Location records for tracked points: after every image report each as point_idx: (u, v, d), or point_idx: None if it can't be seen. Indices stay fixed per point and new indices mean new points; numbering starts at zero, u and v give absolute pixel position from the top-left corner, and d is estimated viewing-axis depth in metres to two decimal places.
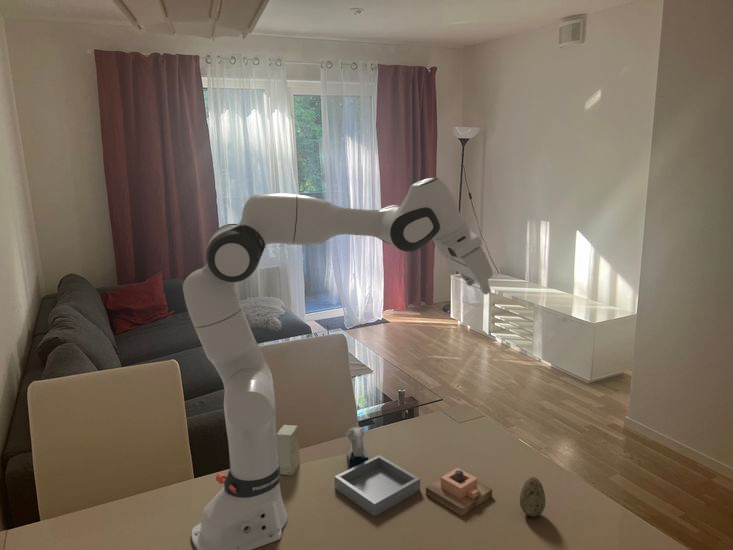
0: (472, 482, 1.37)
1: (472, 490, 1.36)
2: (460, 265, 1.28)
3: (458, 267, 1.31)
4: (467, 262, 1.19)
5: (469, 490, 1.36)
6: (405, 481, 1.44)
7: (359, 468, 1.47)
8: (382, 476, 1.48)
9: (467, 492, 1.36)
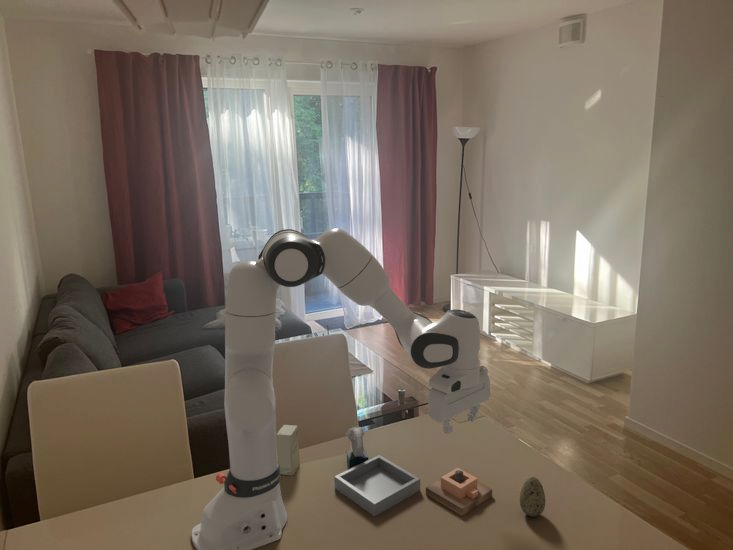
0: (472, 482, 1.37)
1: (472, 490, 1.36)
2: None
3: None
4: (429, 394, 1.29)
5: (469, 490, 1.36)
6: (405, 481, 1.44)
7: (359, 468, 1.47)
8: (382, 476, 1.48)
9: (467, 492, 1.36)
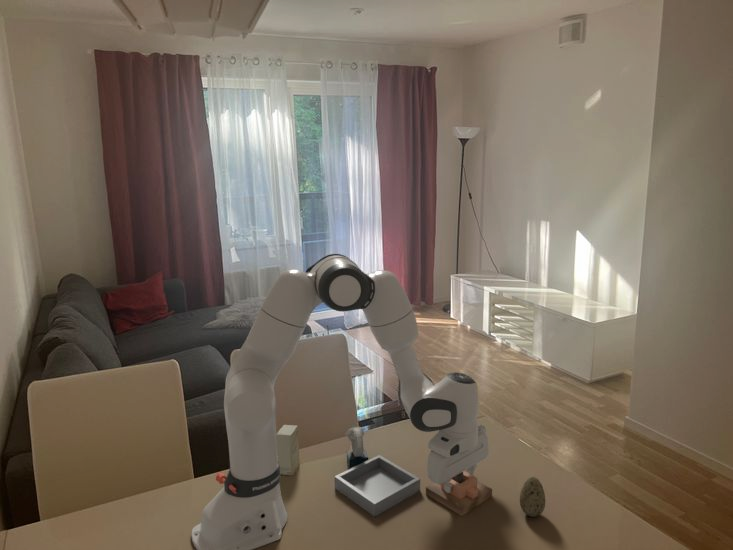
0: (472, 482, 1.37)
1: (472, 490, 1.36)
2: None
3: None
4: (428, 456, 1.33)
5: (469, 490, 1.36)
6: (405, 481, 1.44)
7: (359, 468, 1.47)
8: (382, 476, 1.48)
9: (467, 492, 1.36)
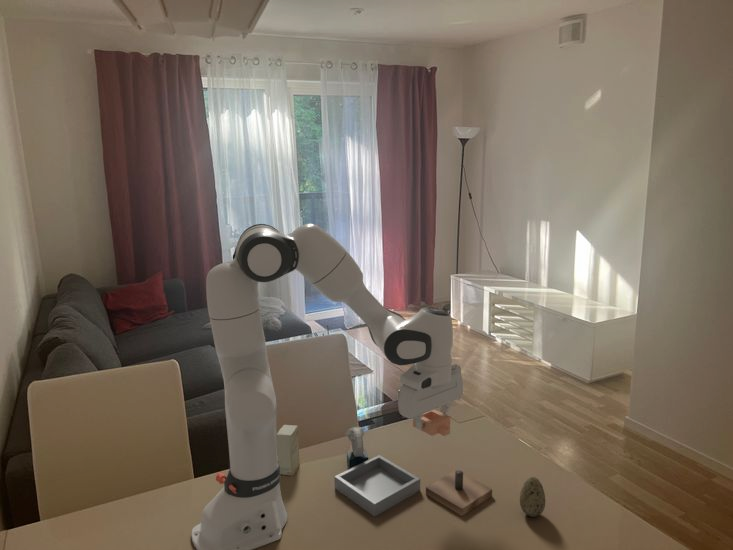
0: (445, 420, 1.34)
1: (444, 427, 1.33)
2: None
3: None
4: (400, 390, 1.30)
5: (441, 427, 1.33)
6: (405, 481, 1.44)
7: (359, 468, 1.47)
8: (382, 476, 1.48)
9: (439, 429, 1.33)
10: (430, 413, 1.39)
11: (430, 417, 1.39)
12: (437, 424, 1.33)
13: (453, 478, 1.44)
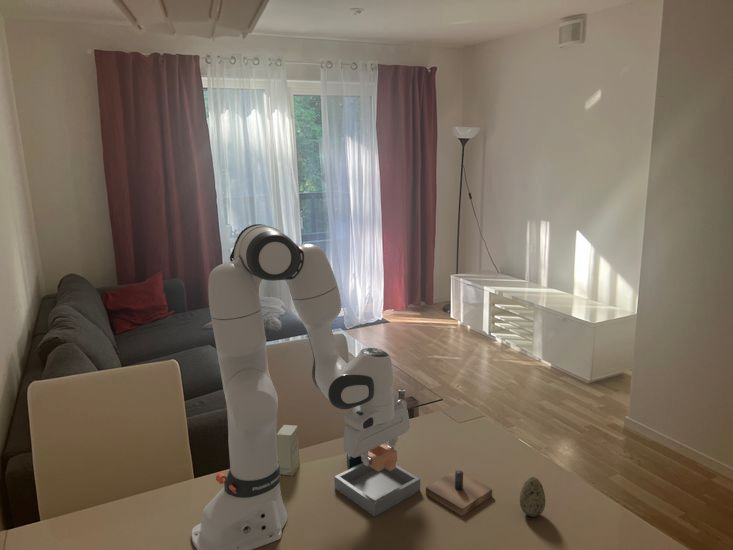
0: (391, 455, 1.39)
1: (390, 462, 1.38)
2: None
3: None
4: (344, 430, 1.35)
5: (387, 462, 1.38)
6: (405, 481, 1.44)
7: (359, 468, 1.47)
8: (382, 476, 1.48)
9: (385, 464, 1.38)
10: (378, 447, 1.43)
11: (378, 451, 1.44)
12: (383, 460, 1.38)
13: (453, 478, 1.44)
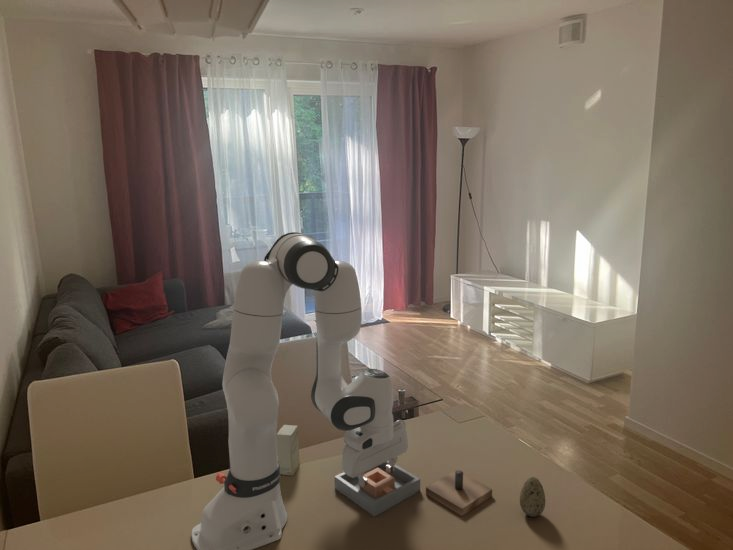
0: (388, 481, 1.40)
1: (388, 489, 1.39)
2: None
3: None
4: (343, 450, 1.36)
5: (385, 489, 1.39)
6: (405, 481, 1.44)
7: None
8: None
9: (383, 491, 1.39)
10: (376, 473, 1.45)
11: (376, 477, 1.45)
12: (381, 486, 1.39)
13: (453, 478, 1.44)
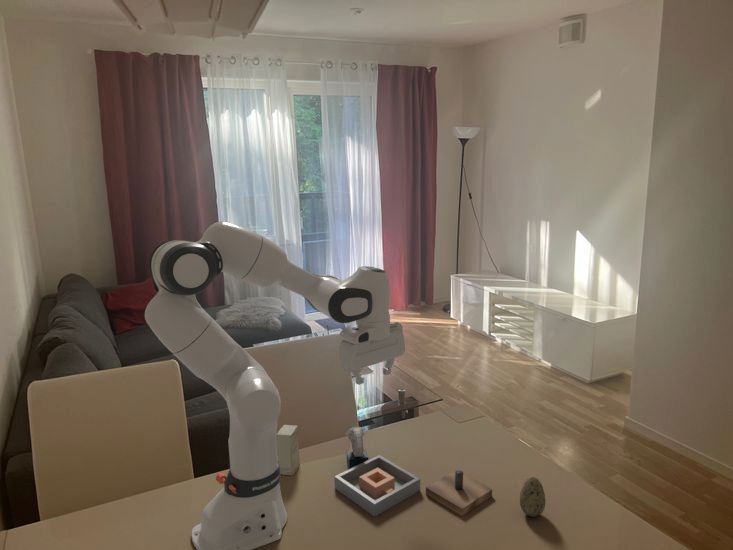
0: (388, 481, 1.40)
1: (388, 489, 1.39)
2: None
3: None
4: None
5: (385, 489, 1.39)
6: (405, 481, 1.44)
7: (359, 468, 1.47)
8: None
9: (383, 491, 1.39)
10: (376, 473, 1.45)
11: (376, 477, 1.45)
12: (381, 486, 1.39)
13: (453, 478, 1.44)
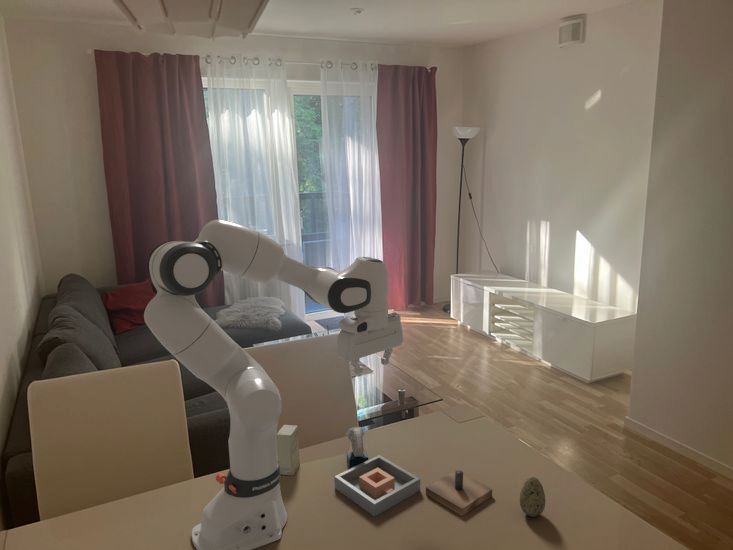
0: (388, 481, 1.40)
1: (388, 489, 1.39)
2: None
3: None
4: (338, 335, 1.37)
5: (385, 489, 1.39)
6: (405, 481, 1.44)
7: (359, 468, 1.47)
8: None
9: (383, 491, 1.39)
10: (376, 473, 1.45)
11: (376, 477, 1.45)
12: (381, 486, 1.39)
13: (453, 478, 1.44)
